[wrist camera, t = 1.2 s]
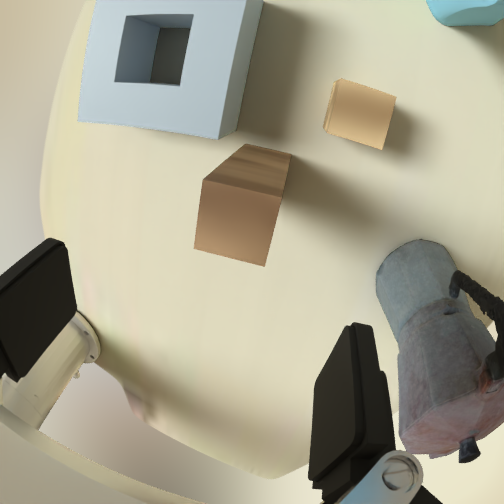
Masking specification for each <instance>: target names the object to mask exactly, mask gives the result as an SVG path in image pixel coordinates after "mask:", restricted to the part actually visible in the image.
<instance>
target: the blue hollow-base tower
mask: <svg viewBox="0 0 504 504" xmlns="http://www.w3.org/2000/svg"><path fill="white" fill-rule="evenodd" d="M426 2H427V4H428V6H429V8H430V10H431V12H432V14H433V16H434V17H435V19H436V20H438V21H439V22H440V23H441V24H443V25H446V26H469V25H485V26H491V25H494V24H496V23H497V22H499V21H500V20H502V19H503V18H504V0H426Z"/></svg>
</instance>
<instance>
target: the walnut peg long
mask: <svg viewBox="0 0 504 504" xmlns="http://www.w3.org/2000/svg"><path fill="white" fill-rule="evenodd" d="M290 159H291V154H288V153H284V152H280V151H276V150H271V149H267V148H263V147H258V146H254V145H249V144H245V145H243V146H242V147H241V148H240V149H238V150H237V151H236V152H235V153H234V154H232V155H231V156H230V157H229V158H228V159H226V160H225V161H224V162H223V163H222V164H220V165H219V166H218V167H217V168H216V169H215V170H213V171H212V172H211V173H210V174H209V175H208V176H206V177H205V178H204V179H203V182H202V189H201V196H200V204H199V211H198V219H197V227H196V235H195V243H194V249H197V250H201V251H205V252H209V253H213V254H217V255H221V256H225V257H228V258H232V259H236V260H240V261H244V262H248V263H252V264H256V265H260V266H264V267H265V263H266V259H267V255H268V251H269V248H270V244H271V240H272V236H273V232H274V228H275V224H276V220H277V216H278V212H279V208H280V204H281V200H282V195H283V191H284V186H285V182H286V177H287V173H288V168H289V163H290Z"/></svg>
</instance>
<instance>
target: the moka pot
mask: <svg viewBox="0 0 504 504" xmlns="http://www.w3.org/2000/svg"><path fill="white" fill-rule="evenodd" d="M464 291H465V292H466V293H468V294H469V296H470V297H472V298H473V300H474V301H475V302H476V303H477V304H478V305H479V306H480V309H481V311H482V312H483V314H484V315H485V312H487V316H488V317H489V318H490V319H492V320H494V321H495V325H496V331H497V333H498V337H497V341H496V342H495V341H494V339H493V337H492V336H491V334H490V333H489V331H488V330H487V328H486V327H485V325H484V324H483V323H482V321H481V320H479V319H477V318H475V317H474V315H473V313H472V311H471V309H470V307H469V304H468V301H467V298H466V295H465V292H464ZM376 293H377V297H378V299H379V302H380V304H381V306H382V308H383V311H384V313H385V315H386V317H387V320H388V322H389V324H390V327H391V329H392V331H393V334H394V336H395V339H396V341H397V342H398V346H399V354H398V380H399V436H400V439H401V441H402V443H403V445H404V446H405V449H406V452H409V453H410V454H429V457H430V459H433V458H437V457H442V456H447V455H449V454H451V453H453V452H455V451H457V450H458V449H459V463H467V462H471V461H473V460H474V459H476V458H477V457H479V456H480V454H481V453H480V451H479V449H478V447H477V444H476V441H478V440H480V439H483V438H484V437H486V436H487V435H488V434H490V433H491V432H492V431H494V430H495V429H496V428H497V427H499V426H500V425H501V424H502V423H503V422H504V302H503V300H501V299H500V298H499V297H494V295H493V294H491V293H490V292H488V291H487V289H485V288H484V287H481V285H479V284H478V283H477V282H476V281H473V280H472V279H471V278H470V277H469V276H467V275H466V274H464V273H462V272H461V271H459V270H457V268H456V266H455V263H454V261H453V260H452V258H451V256H450V255H449V253H448V252H447V250H446V249H445V248H444V246H442V245H440V244H438V243H434V242H431V241H426V240H421V239H419V240H415V241H412V242H409V243H406V244H404V245H403V246H400V247H399V248H398V249H396V250H395V251H393V252H392V253H391V254H390V255H389V256H388V257H387V258H386V259H385V261H384V262H383V263H382V265H381V266H380V268H379V270H378V271H377V274H376Z"/></svg>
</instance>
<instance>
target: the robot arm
mask: <svg viewBox="0 0 504 504" xmlns="http://www.w3.org/2000/svg"><path fill="white" fill-rule="evenodd" d="M100 352H101V347H100V342H99V340H98V337H97V335H96V333H95V332H94V330H93V329H92V327H91V326H90V324H89V323H88V322H87V321H86V320H85V319H84V317H82V316H81V315H80V314H79V313H78V312H77V304H76V299H75V294H74V288H73V282H72V276H71V270H70V263H69V256H68V250H67V248H66V247H65V244H64V242H62V241H59V240H56V239H53V238H48V239H46V240H45V241H43V242H42V243H41V244H40V245H38V246H37V247H36V248H34V249H33V250H32V251H30V252H29V253H28V254H27V255H25V256H24V257H23V258H21V259H20V260H19V261H18V262H16V263H15V264H14V265H13V266H11V267H10V268H9V269H8V270H7V271H6V272H4V273H3V274H2V275H1V276H0V504H207V503H203V502H199V501H196V500H192V499H189V498H185V497H182V496H179V495H175V494H173V493H170V492H167V491H164V490H161V489H158V488H155V487H152V486H149V485H147V484H144V483H142V482H139V481H137V480H134V479H132V478H129V477H127V476H124V475H122V474H120V473H117V472H115V471H113V470H111V469H108V468H106V467H104V466H102V465H100V464H98V463H96V462H94V461H92V460H90V459H88V458H86V457H84V456H82V455H80V454H78V453H76V452H74V451H72V450H70V449H69V448H67V447H65V446H63V445H62V444H60V443H58V442H56V441H55V440H53V439H51V438H50V437H48V436H46V435H45V434H43V433H42V432H40V431H39V428H40V426H41V425H42V423H43V421H44V420H45V418H46V417H47V415H48V414H49V412H50V410H51V409H52V407H53V406H54V404H55V403H56V401H57V400H58V398H59V396H60V395H61V393H62V392H63V390H64V389H65V387H66V386H67V384H68V383H69V381H70V380H71V378H72V377H74V378H79V377H80V374H79V371H78V369H79V368H80V366H81V365H82V364H83V363H92V362H94V361H96V359H97V358H98V356H99V355H100ZM308 479H309V480H311V481H313V487H312V488H313V489H322V499H323V501H322V502H321V503H320V504H443V503H441V502H440V501H439V500H438V499H437V498H435V496H433V495H432V494H431V493H430V492H429V491H428V490H427V489H426V488H425V487H423V486H422V485H421V484H422V482H423V470H422V466H421V464H420V462H419V461H418V460H417V458H416V457H415V456H414V455H412V454H410V453H409V452H406V451H401V450H396V446H395V437H394V427H393V420H392V411H391V404H390V397H389V390H388V384H387V378H386V375H385V373H384V372H383V371H380V368H379V361H378V355H377V350H376V344H375V338H374V333H373V328H372V326H370V325H365V324H361V323H356V322H353V323H352V324H351V326H345V328H344V329H343V331H342V333H341V335H340V337H339V339H338V341H337V343H336V345H335V347H334V348H333V350H332V352H331V354H330V356H329V358H328V360H327V361H326V363H325V365H324V367H323V369H322V370H321V372H320V374H319V376H318V377H317V379H316V382H315V386H314V401H313V418H312V434H311V447H310V459H309V471H308Z"/></svg>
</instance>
